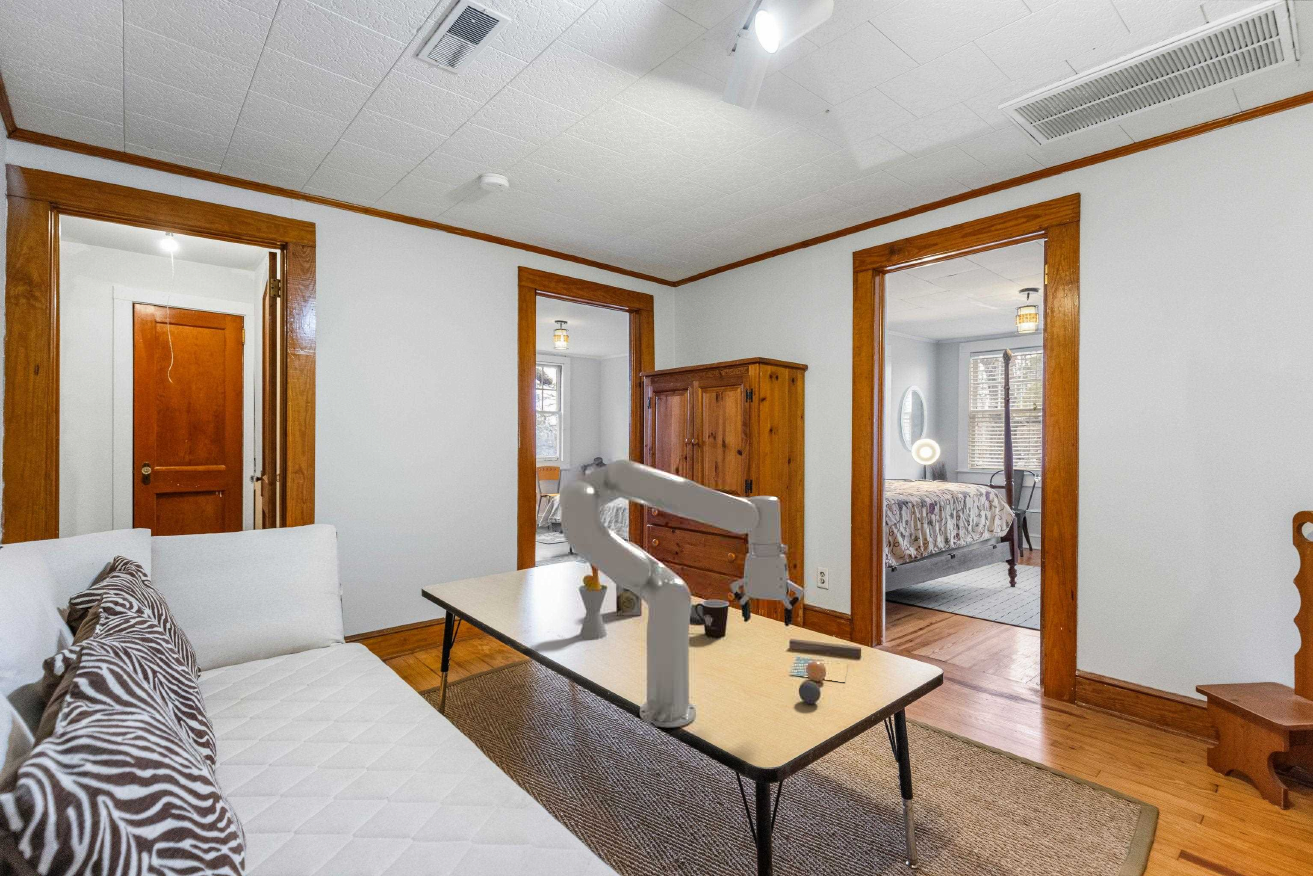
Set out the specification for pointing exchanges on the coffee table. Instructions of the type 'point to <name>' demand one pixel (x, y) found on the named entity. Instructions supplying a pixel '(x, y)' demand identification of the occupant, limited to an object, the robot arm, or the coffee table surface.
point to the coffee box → (627, 602)
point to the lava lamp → (592, 606)
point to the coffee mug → (714, 617)
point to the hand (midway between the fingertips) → (767, 622)
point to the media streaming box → (694, 617)
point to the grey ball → (809, 692)
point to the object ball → (816, 671)
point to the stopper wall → (824, 648)
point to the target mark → (806, 661)
